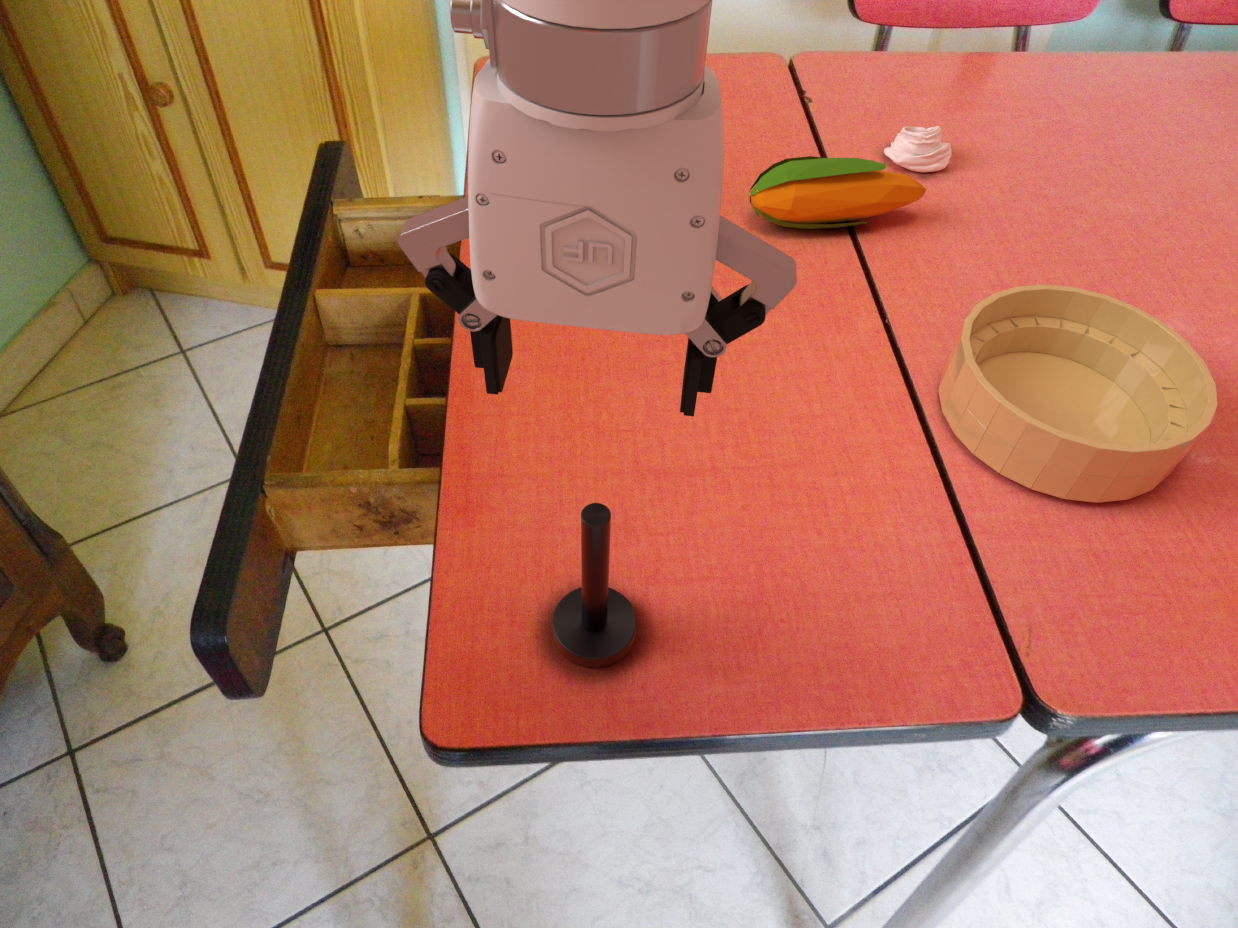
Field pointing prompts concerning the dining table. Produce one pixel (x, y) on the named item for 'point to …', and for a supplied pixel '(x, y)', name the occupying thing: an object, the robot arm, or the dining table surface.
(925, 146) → the whipped cream
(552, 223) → the robot arm
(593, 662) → the black plunger
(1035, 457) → the bowl
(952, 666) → the dining table surface
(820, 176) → the corn
